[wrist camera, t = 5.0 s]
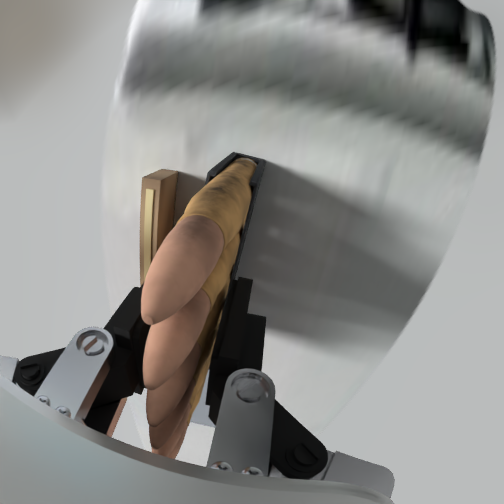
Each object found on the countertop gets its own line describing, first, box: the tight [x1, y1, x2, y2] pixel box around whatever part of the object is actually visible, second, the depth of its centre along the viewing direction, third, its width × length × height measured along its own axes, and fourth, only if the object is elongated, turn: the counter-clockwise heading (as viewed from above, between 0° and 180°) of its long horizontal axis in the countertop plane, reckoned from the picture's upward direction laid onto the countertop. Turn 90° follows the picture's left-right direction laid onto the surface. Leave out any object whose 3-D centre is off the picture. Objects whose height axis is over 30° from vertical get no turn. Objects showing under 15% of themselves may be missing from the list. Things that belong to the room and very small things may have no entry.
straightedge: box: [140, 169, 178, 285], centre depth 18 cm, size 22×1×3 cm, turn 169°
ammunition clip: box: [141, 152, 266, 459], centre depth 11 cm, size 11×2×12 cm, turn 166°
